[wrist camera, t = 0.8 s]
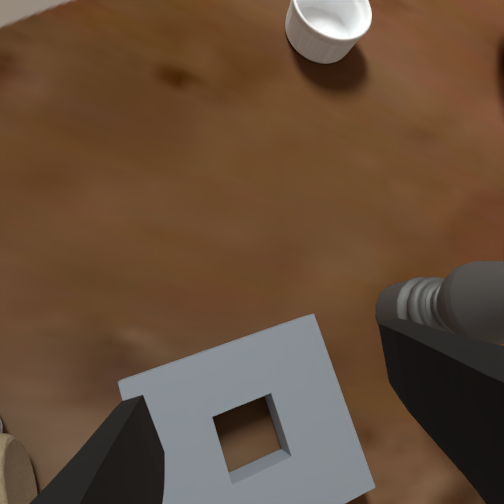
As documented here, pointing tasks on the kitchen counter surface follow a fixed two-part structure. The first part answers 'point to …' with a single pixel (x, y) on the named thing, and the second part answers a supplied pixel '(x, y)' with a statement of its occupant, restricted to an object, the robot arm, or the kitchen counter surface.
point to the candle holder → (451, 301)
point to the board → (282, 413)
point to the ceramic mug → (15, 472)
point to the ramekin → (326, 27)
